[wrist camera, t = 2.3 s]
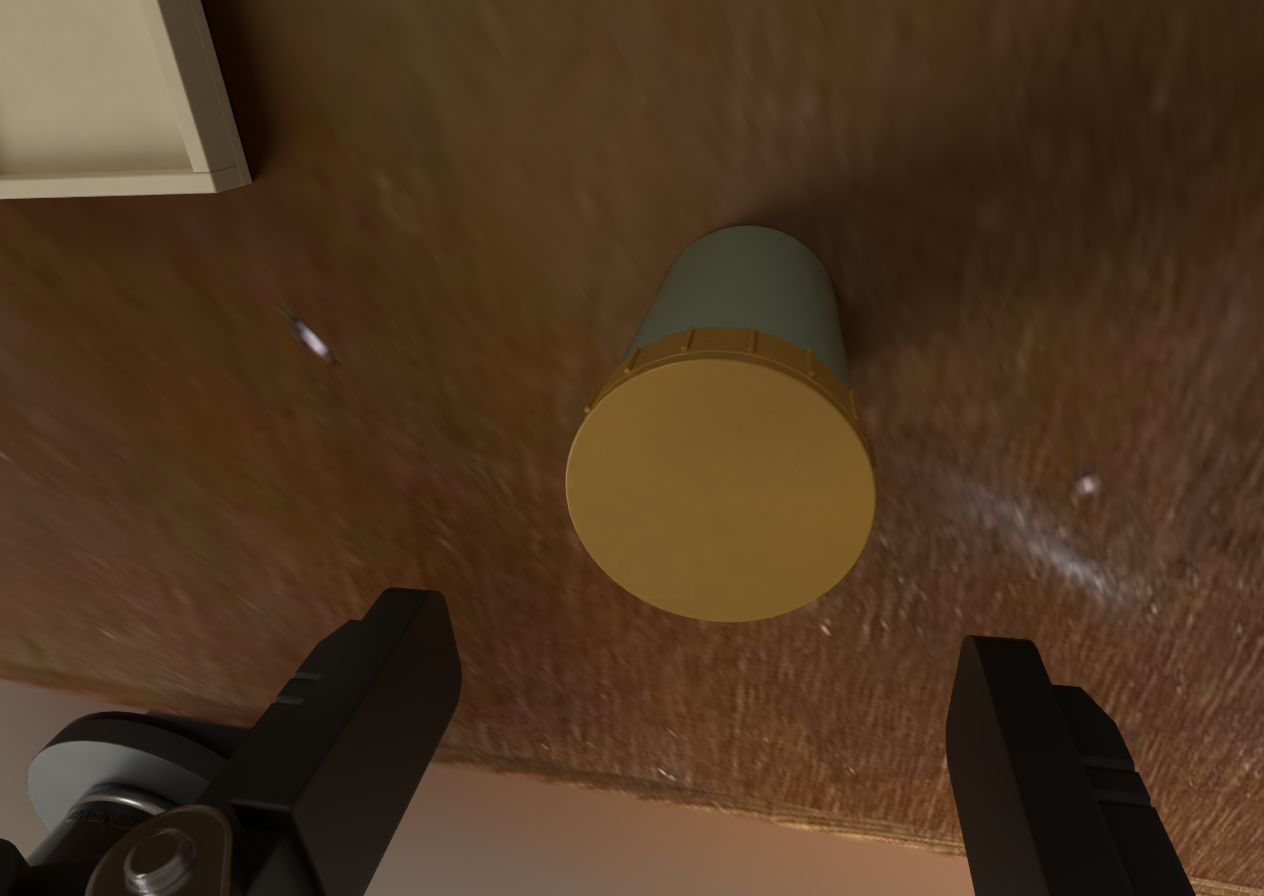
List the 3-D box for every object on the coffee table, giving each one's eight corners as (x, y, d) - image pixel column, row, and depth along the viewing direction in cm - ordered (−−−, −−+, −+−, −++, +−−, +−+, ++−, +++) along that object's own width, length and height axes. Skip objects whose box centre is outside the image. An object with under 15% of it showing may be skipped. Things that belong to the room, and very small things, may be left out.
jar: (830, 399, 24) (854, 612, 15) (659, 395, 25) (589, 592, 16) (844, 223, 22) (883, 357, 13) (652, 226, 23) (563, 352, 14)
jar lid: (856, 582, 16) (862, 636, 15) (594, 564, 17) (577, 612, 16) (884, 325, 14) (896, 360, 12) (571, 322, 15) (547, 354, 13)
